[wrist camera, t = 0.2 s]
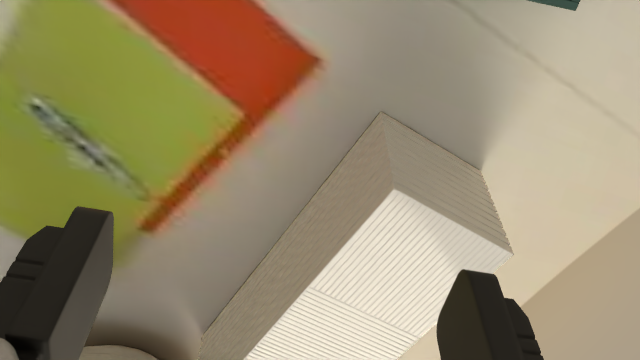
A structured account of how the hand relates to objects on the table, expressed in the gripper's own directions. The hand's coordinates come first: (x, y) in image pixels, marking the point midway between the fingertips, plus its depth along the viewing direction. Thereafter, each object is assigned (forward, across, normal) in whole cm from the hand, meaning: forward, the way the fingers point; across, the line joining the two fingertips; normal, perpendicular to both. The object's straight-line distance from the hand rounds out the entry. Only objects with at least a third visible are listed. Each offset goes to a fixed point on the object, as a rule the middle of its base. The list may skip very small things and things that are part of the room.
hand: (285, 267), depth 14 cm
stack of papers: (+33, -8, +29) cm, 44 cm away
